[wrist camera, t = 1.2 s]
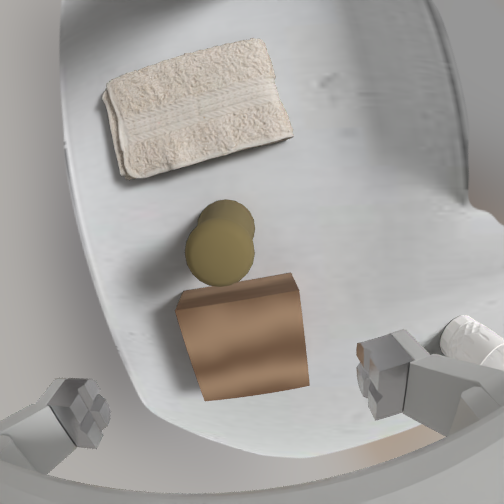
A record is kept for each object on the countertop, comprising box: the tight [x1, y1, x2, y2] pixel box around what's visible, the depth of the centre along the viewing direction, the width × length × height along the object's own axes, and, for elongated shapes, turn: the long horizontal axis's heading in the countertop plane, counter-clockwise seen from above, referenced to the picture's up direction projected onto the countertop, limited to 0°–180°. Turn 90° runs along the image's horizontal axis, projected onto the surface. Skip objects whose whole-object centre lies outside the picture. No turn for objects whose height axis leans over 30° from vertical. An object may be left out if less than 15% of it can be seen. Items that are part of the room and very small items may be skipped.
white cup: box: [440, 315, 504, 371], centre depth 32 cm, size 8×8×10 cm
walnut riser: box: [175, 273, 310, 401], centre depth 33 cm, size 12×12×5 cm
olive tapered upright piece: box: [185, 200, 255, 287], centre depth 27 cm, size 6×6×11 cm
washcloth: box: [102, 38, 294, 180], centre depth 28 cm, size 12×18×3 cm, turn 105°
